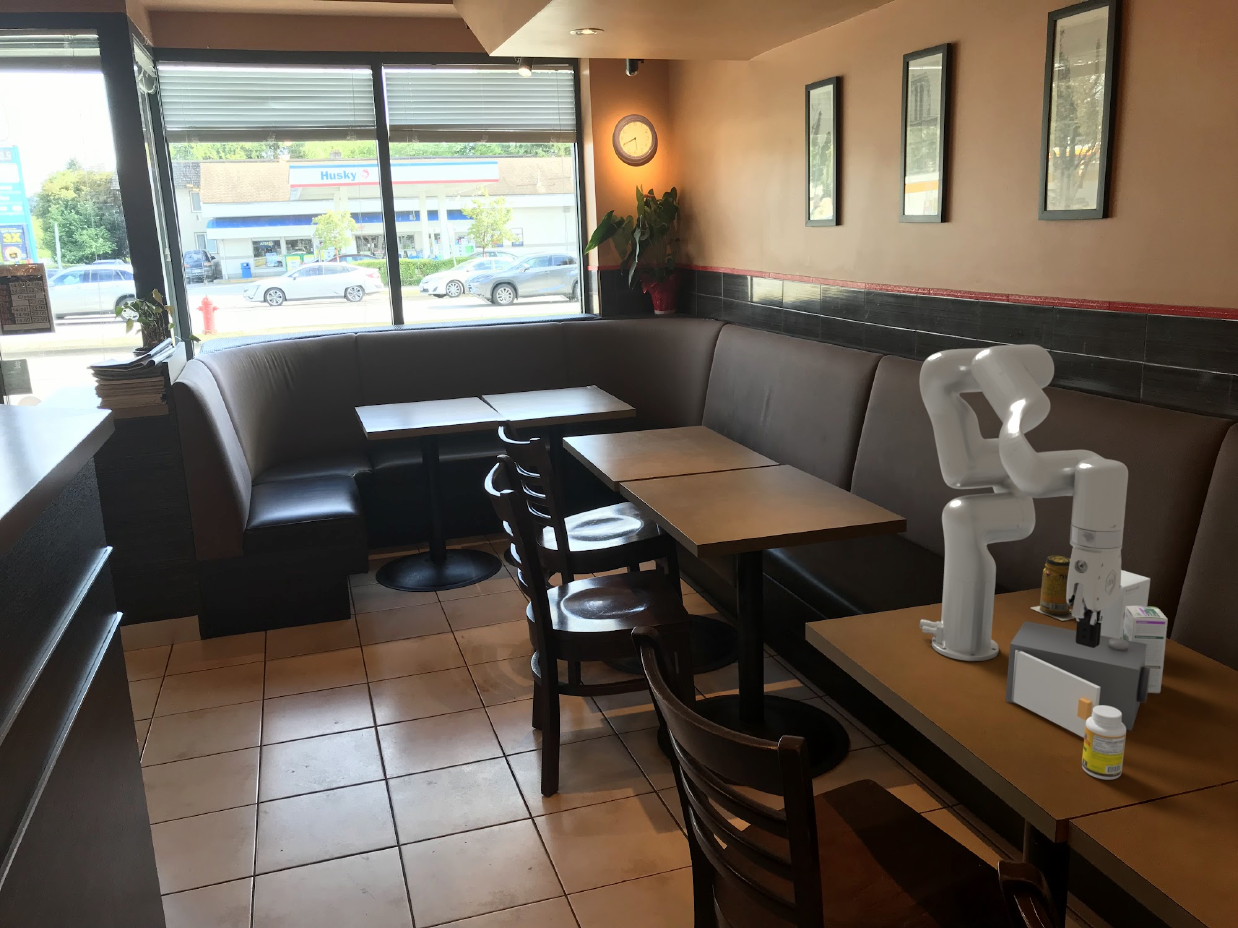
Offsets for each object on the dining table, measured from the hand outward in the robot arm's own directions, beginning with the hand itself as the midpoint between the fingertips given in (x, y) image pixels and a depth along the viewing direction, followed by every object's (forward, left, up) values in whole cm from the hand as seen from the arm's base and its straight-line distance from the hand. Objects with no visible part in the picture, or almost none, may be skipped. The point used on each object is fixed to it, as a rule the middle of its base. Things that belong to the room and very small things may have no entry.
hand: (1087, 644), depth 159 cm
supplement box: (-1, +39, -16) cm, 42 cm away
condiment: (-13, +53, -16) cm, 56 cm away
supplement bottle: (+5, -12, -15) cm, 20 cm away
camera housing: (-3, +10, -15) cm, 18 cm away
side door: (-5, -1, -14) cm, 15 cm away
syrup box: (+6, +23, -15) cm, 28 cm away
